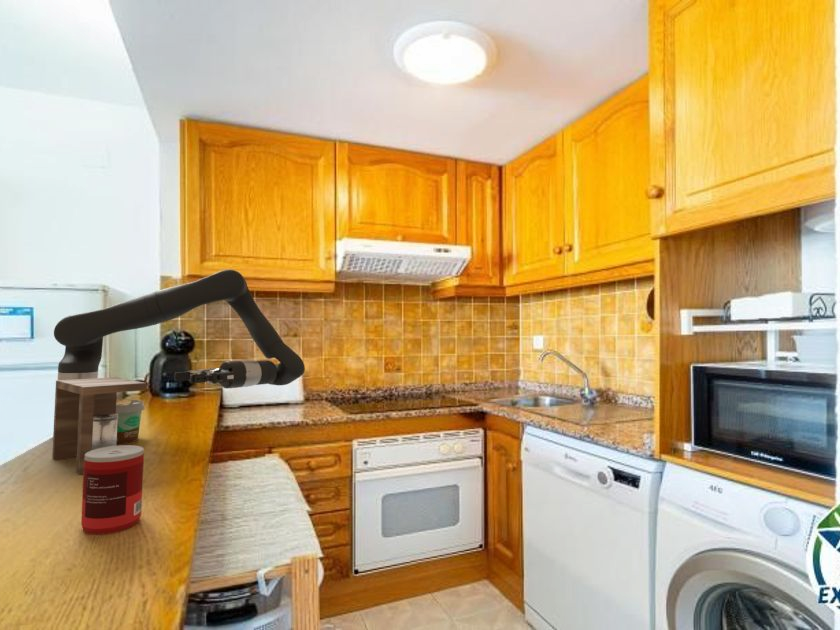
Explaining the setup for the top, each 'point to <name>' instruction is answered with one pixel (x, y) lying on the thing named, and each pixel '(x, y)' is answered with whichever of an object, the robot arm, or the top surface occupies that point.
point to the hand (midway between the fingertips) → (182, 377)
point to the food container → (128, 421)
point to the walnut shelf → (83, 412)
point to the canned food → (112, 488)
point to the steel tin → (104, 430)
